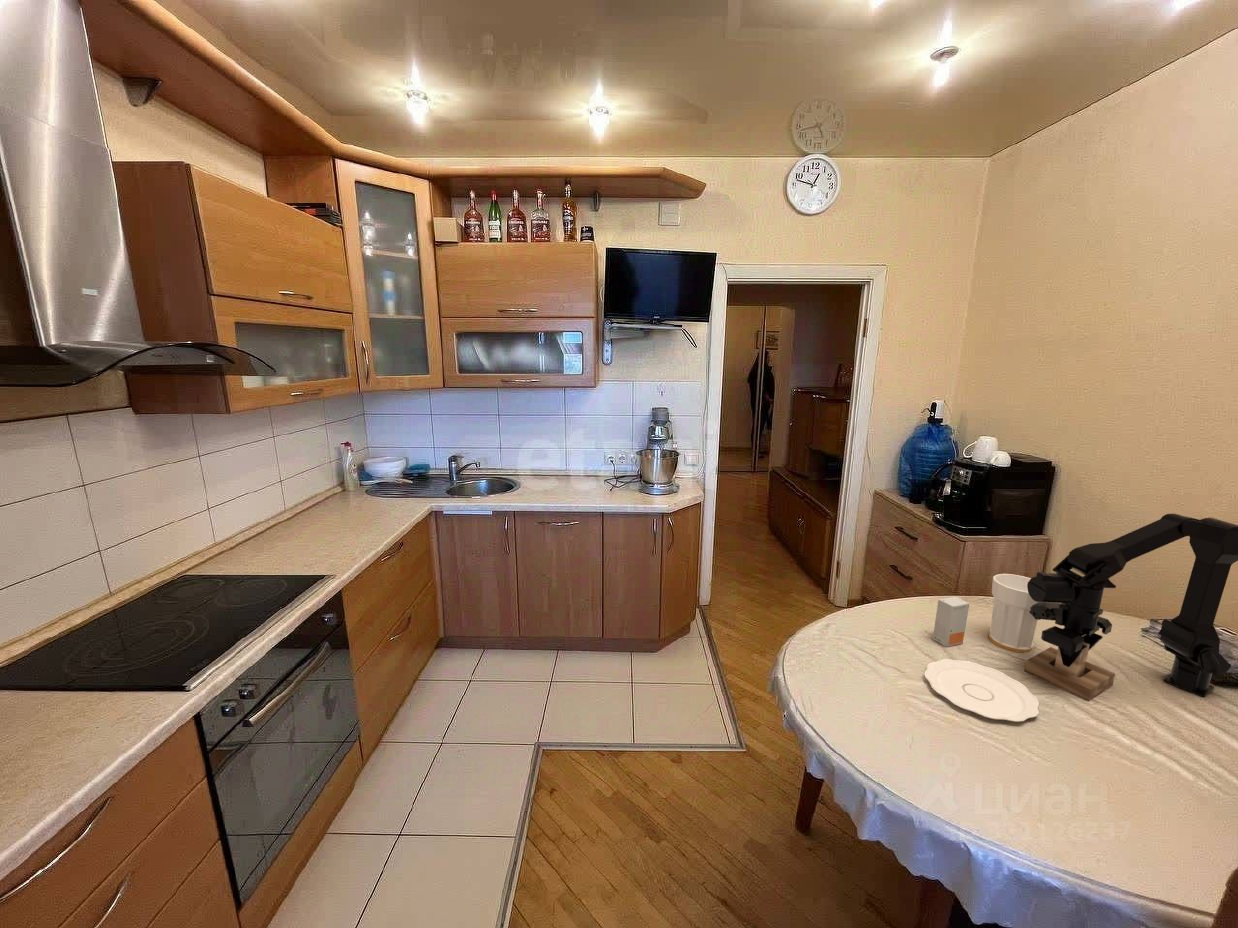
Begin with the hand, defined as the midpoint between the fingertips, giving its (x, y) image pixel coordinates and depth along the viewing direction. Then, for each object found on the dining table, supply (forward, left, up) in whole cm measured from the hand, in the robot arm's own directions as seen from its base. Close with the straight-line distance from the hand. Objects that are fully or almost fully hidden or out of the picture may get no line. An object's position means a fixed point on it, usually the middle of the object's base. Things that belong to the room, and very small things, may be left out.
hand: (1070, 662), depth 113 cm
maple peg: (0, 0, -2) cm, 2 cm away
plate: (+24, -7, -4) cm, 25 cm away
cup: (-5, -14, -4) cm, 15 cm away
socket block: (0, 0, -4) cm, 4 cm away
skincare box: (+9, -22, -4) cm, 24 cm away
